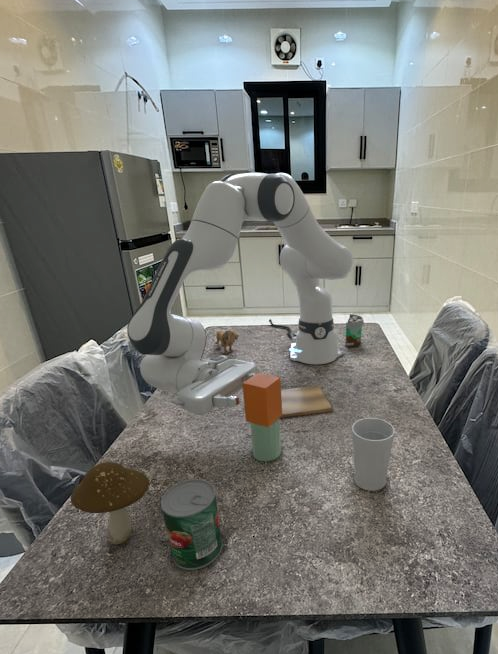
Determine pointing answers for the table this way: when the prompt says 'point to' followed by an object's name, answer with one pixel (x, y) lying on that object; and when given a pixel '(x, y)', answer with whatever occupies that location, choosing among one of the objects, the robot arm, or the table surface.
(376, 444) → the cup
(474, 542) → the table surface
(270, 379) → the orange block
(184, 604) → the table surface
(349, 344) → the food container
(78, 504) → the mushroom
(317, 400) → the wooden board
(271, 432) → the green cup
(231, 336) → the lion figurine
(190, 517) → the canned tomato
